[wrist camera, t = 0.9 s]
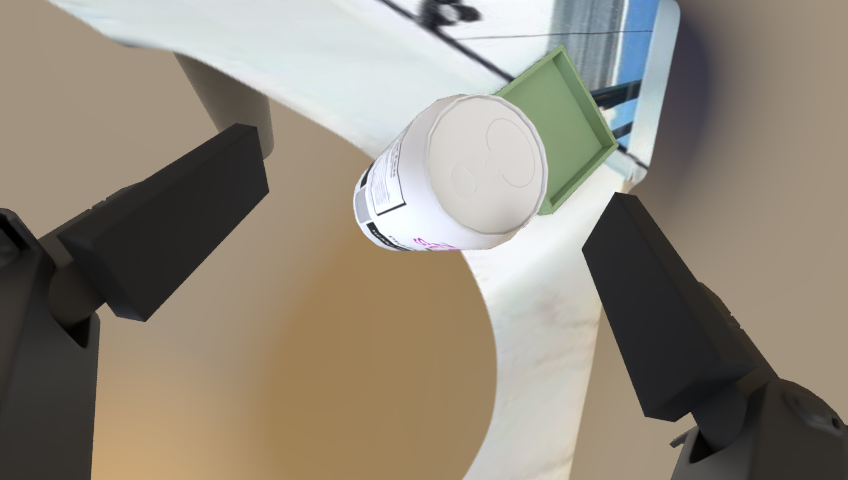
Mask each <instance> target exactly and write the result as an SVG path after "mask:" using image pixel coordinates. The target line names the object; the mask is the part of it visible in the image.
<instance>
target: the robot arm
mask: <svg viewBox="0 0 848 480" xmlns="http://www.w3.org/2000/svg"><path fill="white" fill-rule="evenodd" d="M268 193H269V188H268V183H267V178H266V172H265V167H264V162H263V157H262V152H261V147H260V141H259V136H258V131H257V127H255V126H249V125H244V124H238V123H235V124H234V125H232V126H231V127H229V128H227V129H226V130H224V131H223V132H221V133H219V134H218V135H216V136H215V137H213V138H211V139H210V140H208V141H206V142H205V143H203V144H202V145H200V146H198V147H197V148H195V149H194V150H192V151H190V152H189V153H187V154H186V155H184V156H182V157H181V158H179V159H177V160H176V161H174V162H173V163H171V164H169V165H168V166H166V167H165V168H163V169H161V170H160V171H158V172H157V173H155V174H153V175H152V176H150V177H149V178H147V179H145V180H144V181H142V182H139V183H136V184H133V185H130V186H128V187H125V188H122V189H120V190H119V191H117V192H115V193H114V194H112V195H111V196H109V197H107V198H106V200H105V201H101V202H99V203H97V204H96V205H94V206H93V207H92V209H87V210H86V211H85V212H82V213H81V214H79V215H78V216H76V217H74V218H73V219H71V220H69V221H68V222H66V223H64V224H63V225H61V226H59V227H58V228H56V229H54V230H53V231H51V232H49V233H48V234H46V235H45V236H43V237H41V238H40V239H38V240H37V239H36V238H35V237H34V235H33V234H32V233H31V232H30V230H29V229H28V228H27V227H26V225H25V224H24V223H23V222H22V220H21V219H20V218H19V217H18V215H17V214H16V213H15V212H13V211H11V210H9V209H5V208H0V480H91V465H92V450H93V433H94V417H95V400H96V383H97V382H96V381H97V367H98V350H99V334H100V319H99V317H98V315H97V313H96V312H95V311H96V310H97V309H98V308H99V307H100V306H102V305H103V304H104V303H105V302H106V303H107V304H108V306H109V307H110V308H111V310H112V311H113V312H114V314H115V315H116V316H117V317H121V318H127V319H132V320H137V321H143V322H146V321H147V320H148V319H149V318H150V317H151V316H152V314H153V313H154V312H155V311H156V310H157V309H158V308H159V307H160V306H161V305H162V304H163V303H164V302H165V301H166V300H167V299H168V298H169V296H171V295H172V293H173V292H174V291H175V290H176V289H177V288H178V287H179V286H180V285H181V284H182V283H183V282H184V281H185V280H186V279H187V278H188V277H189V276H190V274H191V273H192V272H193V271H194V270H195V269H196V268H197V267H198V266H199V265H200V264H201V263H202V262H203V261H204V260H205V259H206V258H207V257H208V256H209V254H211V252H212V251H213V250H214V249H215V248H216V247H217V246H218V245H219V244H220V243H221V242H222V241H223V240H224V239H225V238H226V237H227V236H228V235H229V234H230V233H231V231H232V230H233V229H234V228H235V227H236V226H237V225H238V224H239V223H240V222H241V221H242V220H243V219H244V218H245V217H246V216H247V215H248V214H249V212H251V210H252V209H253V208H254V207H255V206H256V205H257V204H258V203H259V202H260V201H261V200H262V199H263V198H264V197H265V196H266V195H267V194H268ZM582 252H583V254H584V257H585V260H586V262H587V265H588V268H589V270H590V273H591V276H592V278H593V281H594V283H595V286H596V289H597V291H598V294H599V297H600V299H601V302H602V305H603V307H604V310H605V312H606V315H607V318H608V320H609V323H610V326H611V328H612V331H613V333H614V336H615V339H616V342H617V344H618V347H619V349H620V352H621V355H622V357H623V360H624V363H625V365H626V368H627V370H628V373H629V376H630V378H631V381H632V384H633V386H634V389H635V391H636V394H637V397H638V400H639V402H640V405H641V407H642V410H643V413H644V415H645V417H650V418H655V419H660V420H666V421H671V422H676V421H677V420H679V419H680V418H682V417H683V416H685V415H686V414H688V413H689V412H691V413H692V415H693V417H694V419H695V421H696V423H697V426H695V427H693V428H692V429H690V430H689V431H687V432H685V433H684V434H682V435H680V436H679V437H677V438H676V439H674V440H673V441H672V442H671V443H670V445H671V446H672V447H673V448H675V447H676V446H678V445H680V444H684V446H683V448H682V451H681V453H680V456H679V459H678V461H677V464H676V467H675V469H674V472H673V475H672V477H671V480H848V426H847V425H845V424H844V423H843V421H842V420H841V419H840V417H839V416H838V414H837V413H836V412H835V411H834V410H833V409H832V408H831V407H830V406H829V405H828V404H827V403H825V402H824V401H823V400H822V399H821V398H819V397H818V396H816V395H815V394H814V393H812V392H811V391H809V390H808V389H806V388H804V387H802V386H800V385H798V384H796V383H794V382H791V381H787V380H784V379H780V378H779V377H778V375H777V374H776V373H775V371H774V370H773V369H772V367H771V366H770V365H769V363H768V362H767V361H766V359H765V358H764V357H763V355H762V354H761V353H760V351H759V350H758V349H757V347H756V346H755V345H754V343H753V342H752V341H751V339H750V338H749V337H748V335H747V334H746V333H745V331H744V330H743V329H740V325H739V323H738V322H737V321H736V319H735V318H734V317H733V316H731V315H730V313H731V312H730V311H729V310H728V308H727V307H726V306H725V304H724V303H723V302H722V300H721V299H720V298H719V297H718V296H717V295H716V294H715V293H713V292H712V291H711V290H710V289H709V288H708V287H706V286H705V285H704V284H703V283H701V282H698V281H697V280H696V278H695V277H694V276H693V274H692V273H691V271H690V270H689V269H688V267H687V266H686V264H685V263H684V262H683V260H682V259H681V257H680V256H679V255H678V254H677V252H676V250H675V249H674V248H673V246H672V245H671V243H670V242H669V241H668V240H667V238H666V237H665V235H664V234H663V232H662V231H661V230H660V228H659V227H658V225H657V224H656V223H655V221H654V220H653V218H652V217H651V216H650V214H649V213H648V211H647V210H646V209H645V207H644V206H643V205H642V203H641V202H640V200H639V199H638V197H637V196H635V195H629V194H624V193H618V192H615V193H614V195H613V196H612V198H611V200H610V202H609V203H608V205H607V207H606V208H605V210H604V212H603V213H602V215H601V217H600V219H599V220H598V222H597V224H596V225H595V227H594V229H593V230H592V232H591V234H590V236H589V237H588V239H587V241H586V242H585V244H584V246H583V247H582Z"/></svg>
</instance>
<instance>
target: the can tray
mask: <svg viewBox="0 0 848 480" xmlns="http://www.w3.org/2000/svg"><path fill="white" fill-rule="evenodd" d="M494 96H499V97H501V98H503V99H505V100H506V101H508V102H510V103H511V104H513V105H515V106H516V107H518V108H519V109H520V110H521V111H522V112H523V113H524V114H525V115H526V117H527V118H528V119H529V120H530V121H531V122H532V123H533V124H534V126H535V128H536V130H537V132H538V134H539V136H540V138H541V141H542V143H543V145H544V147H545V153H546V158H547V164H548V180H547V190H546V194H545V197H544V199H543V201H542V204H541V206H540V208H539V211H538V213H539V215H540V216H541V215H548V214H553V213H554V212H555V211H556V210H557V209H558V208H559V207H560V206H561V205H562V204H563V203H564V202H565V201H566V200H567V199H568V198H569V196H570V195H571V194H572V193H573V192H574V191H575V190H576V189H577V188H578V187H579V186H580V185H581V184H582V183H583V182H584V181H585V180H586V179H587V178H588V177H589V176H590V175H591V174H592V173H593V172H594V171H595V170H596V169H597V168H598V167H599V166H600V165H601V164H602V163H603V162H604V161H605V160H606V159H607V157H608V156H609V155H610V154H611V153H612V152H613V151H614V150H615V149H616V148H617V147H618V146H619V145H618V143H617V142H616V139H615V138H614V136H613V134H612V132H611V130H610V129H609V127H608V125H607V123H606V121H605V119H604V118H603V116H602V114H601V112H600V110H599V109H598V107H597V105H596V103H595V101H594V100H593V98H592V96H591V94H590V92H589V90H588V89H587V87H586V85H585V83H584V81H583V80H582V78H581V76H580V74H579V72H578V71H577V69H576V67H575V65H574V63H573V62H572V60H571V58H570V56H569V54H568V52H567V51H566V49H565V47H564V45H563V44H561V45H559V46H558V47H557V48H556V49H554V50H553V51H552V52H550V53H549V54H548V55H546V56H545V57H544V58H542V59H541V60H540V61H538V62H537V63H536V64H534V65H533V66H532V67H531V68H529V69H528V70H527V71H525V72H524V73H523V74H521V75H520V76H519V77H517V78H516V79H515V80H513V81H512V82H511V83H509V84H508V85H507V86H506V87H504V88H503V89H502V90H500V91H499V92H498V93H496V94H495V95H494Z"/></svg>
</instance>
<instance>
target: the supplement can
mask: <svg viewBox="0 0 848 480" xmlns="http://www.w3.org/2000/svg"><path fill="white" fill-rule="evenodd" d="M547 180H548V164H547V158H546V153H545V147H544V145H543V143H542V141H541V138H540V136H539V134H538V132H537V130H536V128H535V126H534V124H533V123H532V122H531V121H530V120H529V119H528V118H527V117H526V115H525V114H524V113H523V112H522V111H521V110H520V109H519V108H518V107H516V106H515V105H513V104H511V103H510V102H508V101H506V100H505V99H503V98H501V97H499V96H493V95H487V94H482V93H477V94H473V95H465V94H459V95H455V96H451V97H447V98H442V99H438V100H437V101H435V102H434V103H433V104H431V105H430V106H429V107H428V108H426V109H425V110H424V111H422V112H421V113H420V114H419V115H418V116H417V117H416V118H415V119H414V120H413V121H412V122H411V123H410V124H409V125H408V126H407V127H406V128H405V129H404V130H403V131H402V132H401V134H400V135H399V136H398V137H397V138H396V139H395V140H394V141H393V142H392V143H391V144H390V145H389V146H388V147H387V148H386V149H385V150H384V151H383V153H382V154H381V155H380V156H379V157H378V158H377V159H376V160H375V161H374V162H373V163H372V164H371V165H370V166H369V167H368V169H366V171H365V172H364V173H363V174H362V176H361V178H360V180H359V181H358V183H357V185H356V187H355V192H354V199H353V207H354V212H355V217H356V221H357V223H358V224H359V226H360V228H361V229H362V231H363V232H364V234H365V235H366V236H367V237H368V238H369V239H370V240H372V241H373V242H374V243H375V244H377V245H378V246H380V247H383V248H386V249H389V250H392V251H424V250H427V251H429V250H482V249H491V248H493V247H496V246H498V245H500V244H502V243H504V242H506V241H508V240H510V239H511V238H512V237H513V236H514V235H515V234H516V233H517V232H518V231H519V230H520V229H522V228H524V227H525V226H526V225H527V224H528V223H529V221H530V220H531V219H532V218H533V217H534V216H535V215H536V214H537V213H538V211H539V208H540V206H541V204H542V201H543V199H544V197H545V194H546V190H547Z"/></svg>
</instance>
